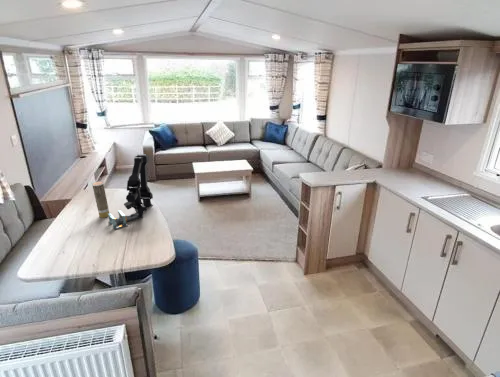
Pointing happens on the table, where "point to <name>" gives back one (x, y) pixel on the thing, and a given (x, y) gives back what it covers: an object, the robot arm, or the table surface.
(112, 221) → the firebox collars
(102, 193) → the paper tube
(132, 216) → the tube
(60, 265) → the table surface
